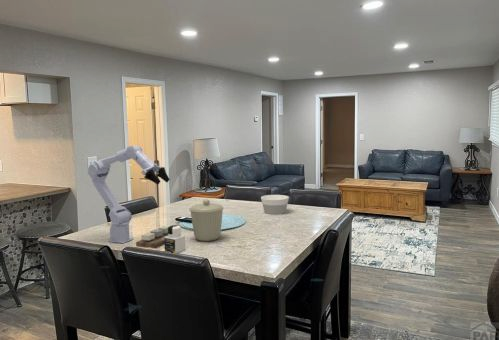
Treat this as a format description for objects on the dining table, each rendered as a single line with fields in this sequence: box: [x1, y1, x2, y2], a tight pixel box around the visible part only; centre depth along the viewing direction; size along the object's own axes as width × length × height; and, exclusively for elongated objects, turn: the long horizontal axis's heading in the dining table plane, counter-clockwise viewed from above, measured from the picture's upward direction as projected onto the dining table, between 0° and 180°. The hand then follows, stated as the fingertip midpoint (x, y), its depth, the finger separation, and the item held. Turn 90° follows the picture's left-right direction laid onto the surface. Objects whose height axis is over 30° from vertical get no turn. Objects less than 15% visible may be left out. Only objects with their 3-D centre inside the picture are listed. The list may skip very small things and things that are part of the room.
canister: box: [188, 198, 225, 242], centre depth 204 cm, size 18×18×21 cm
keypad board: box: [135, 233, 182, 249], centre depth 203 cm, size 12×22×2 cm, turn 157°
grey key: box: [149, 228, 163, 237], centre depth 203 cm, size 5×5×2 cm
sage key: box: [157, 225, 169, 233], centre depth 209 cm, size 5×5×2 cm
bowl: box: [260, 194, 290, 216], centre depth 266 cm, size 19×19×11 cm
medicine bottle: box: [163, 224, 186, 254], centre depth 186 cm, size 7×7×12 cm
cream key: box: [141, 232, 155, 240], centre depth 197 cm, size 5×5×2 cm
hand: (163, 181), depth 191 cm, fingers open, 7 cm apart
